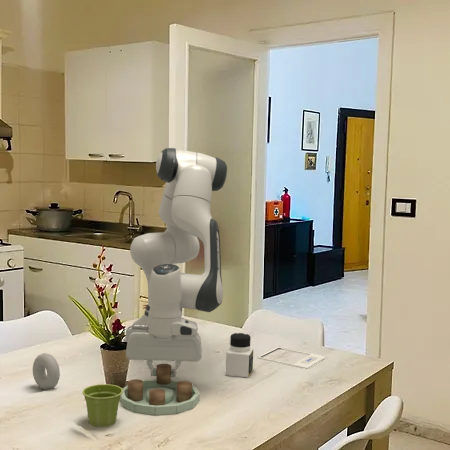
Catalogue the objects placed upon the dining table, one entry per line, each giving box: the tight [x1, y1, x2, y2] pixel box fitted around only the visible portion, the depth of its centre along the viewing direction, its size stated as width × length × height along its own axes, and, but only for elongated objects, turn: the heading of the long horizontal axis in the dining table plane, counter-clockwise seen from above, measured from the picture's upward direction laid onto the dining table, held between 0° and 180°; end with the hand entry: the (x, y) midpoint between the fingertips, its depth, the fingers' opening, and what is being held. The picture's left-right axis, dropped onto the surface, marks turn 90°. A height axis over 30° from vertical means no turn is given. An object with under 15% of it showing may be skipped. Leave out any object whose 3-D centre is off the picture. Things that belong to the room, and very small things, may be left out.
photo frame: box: [256, 346, 327, 370], centre depth 212 cm, size 15×1×18 cm
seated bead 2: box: [149, 389, 165, 406], centre depth 163 cm, size 4×4×4 cm
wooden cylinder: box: [155, 363, 172, 385], centre depth 175 cm, size 4×4×4 cm
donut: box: [32, 352, 61, 391], centre depth 177 cm, size 10×4×10 cm, turn 50°
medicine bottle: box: [225, 332, 254, 378], centre depth 195 cm, size 7×7×12 cm
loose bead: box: [176, 380, 193, 403], centre depth 169 cm, size 4×4×4 cm
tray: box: [119, 378, 200, 416], centre depth 169 cm, size 20×20×3 cm
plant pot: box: [82, 383, 123, 428], centre depth 154 cm, size 9×9×9 cm
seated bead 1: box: [127, 378, 143, 402], centre depth 169 cm, size 4×4×4 cm
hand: (163, 375), depth 175 cm, fingers closed on wooden cylinder, 4 cm apart
